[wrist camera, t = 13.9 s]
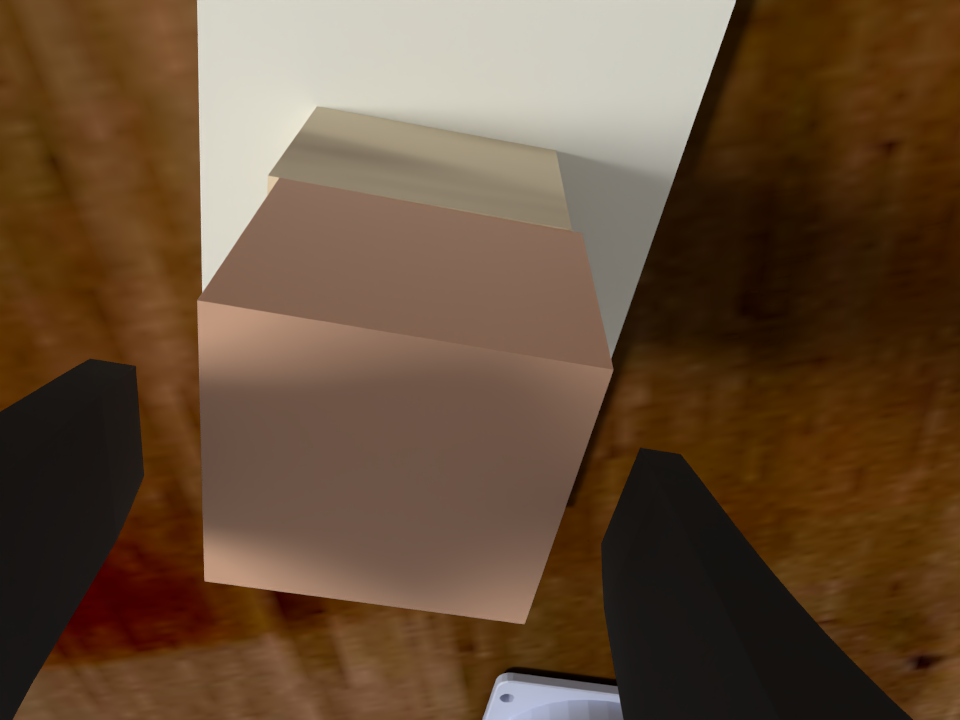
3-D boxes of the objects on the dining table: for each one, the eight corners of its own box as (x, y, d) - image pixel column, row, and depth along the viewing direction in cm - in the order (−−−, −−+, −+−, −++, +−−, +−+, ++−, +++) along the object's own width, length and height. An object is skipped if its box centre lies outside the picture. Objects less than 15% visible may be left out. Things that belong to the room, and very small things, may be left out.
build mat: (553, 505, 22) (554, 520, 22) (212, 453, 21) (205, 468, 21) (768, -122, 14) (778, -122, 13) (204, -256, 13) (192, -259, 12)
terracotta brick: (518, 456, 15) (524, 624, 12) (269, 417, 15) (204, 580, 12) (582, 233, 13) (613, 369, 9) (279, 177, 12) (196, 300, 9)
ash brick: (508, 347, 19) (511, 454, 15) (305, 314, 18) (262, 417, 15) (555, 150, 16) (571, 229, 12) (316, 106, 15) (267, 175, 12)
